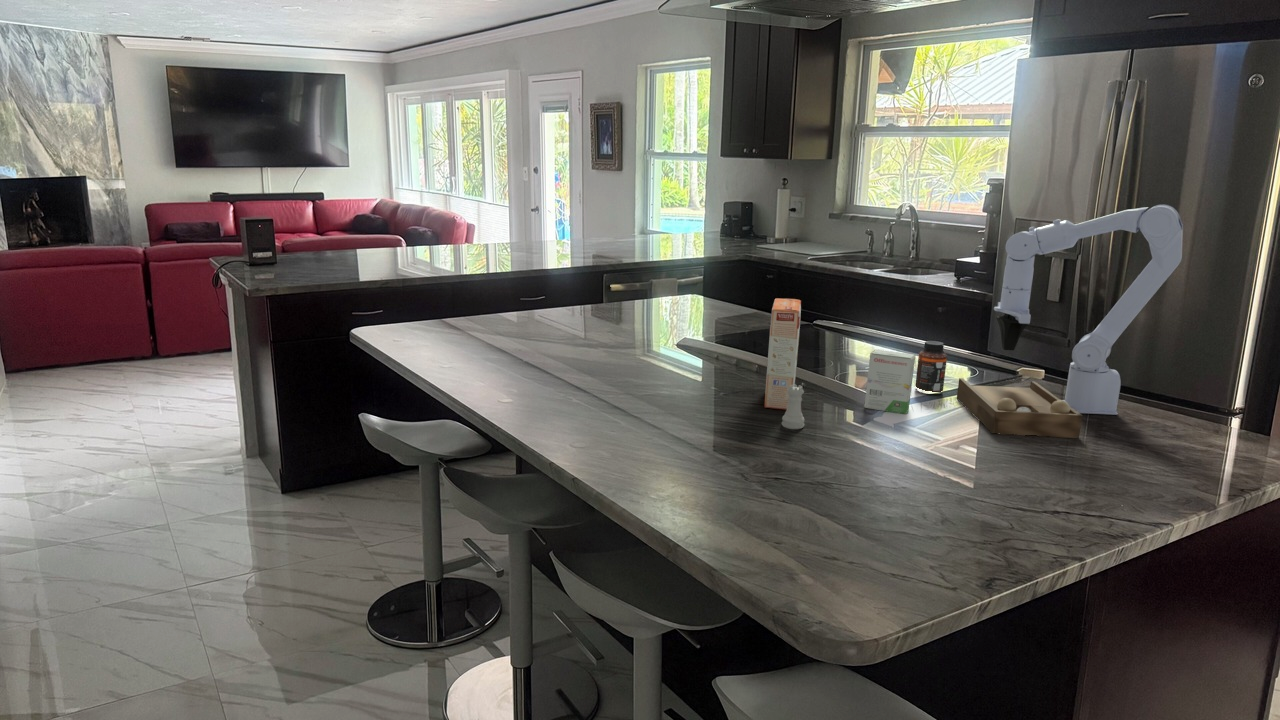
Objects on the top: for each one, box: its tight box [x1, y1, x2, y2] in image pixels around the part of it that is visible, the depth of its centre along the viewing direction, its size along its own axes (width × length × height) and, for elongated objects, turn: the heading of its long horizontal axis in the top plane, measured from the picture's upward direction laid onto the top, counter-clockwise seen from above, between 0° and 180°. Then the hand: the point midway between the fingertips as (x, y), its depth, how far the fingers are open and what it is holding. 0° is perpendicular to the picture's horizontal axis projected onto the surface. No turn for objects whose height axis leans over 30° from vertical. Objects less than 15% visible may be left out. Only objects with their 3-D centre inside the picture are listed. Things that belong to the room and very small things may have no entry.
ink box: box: [864, 349, 916, 415], centre depth 177 cm, size 9×5×12 cm, turn 65°
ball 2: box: [1050, 399, 1070, 414], centre depth 164 cm, size 3×3×3 cm
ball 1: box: [997, 398, 1016, 411], centre depth 165 cm, size 3×3×3 cm
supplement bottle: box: [914, 340, 948, 392], centre depth 190 cm, size 6×6×11 cm
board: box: [956, 377, 1083, 439], centre depth 174 cm, size 16×24×4 cm, turn 176°
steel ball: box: [1016, 407, 1032, 412], centre depth 170 cm, size 3×3×3 cm
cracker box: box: [764, 297, 802, 411], centre depth 179 cm, size 14×6×21 cm, turn 168°
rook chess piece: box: [781, 384, 805, 430], centre depth 164 cm, size 4×4×8 cm
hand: (1008, 349), depth 187 cm, fingers closed
